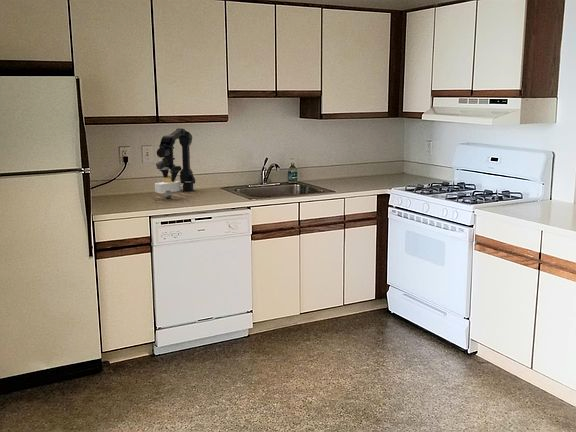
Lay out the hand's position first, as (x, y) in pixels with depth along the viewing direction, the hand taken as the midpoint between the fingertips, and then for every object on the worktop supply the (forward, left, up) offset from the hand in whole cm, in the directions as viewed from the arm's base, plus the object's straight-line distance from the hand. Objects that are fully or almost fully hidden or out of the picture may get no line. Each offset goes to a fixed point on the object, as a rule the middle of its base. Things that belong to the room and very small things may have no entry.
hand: (169, 181), depth 365 cm
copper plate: (-5, -2, -12) cm, 13 cm away
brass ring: (0, 0, -1) cm, 0 cm away
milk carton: (-5, -21, -8) cm, 23 cm away
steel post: (+2, +1, -12) cm, 12 cm away
